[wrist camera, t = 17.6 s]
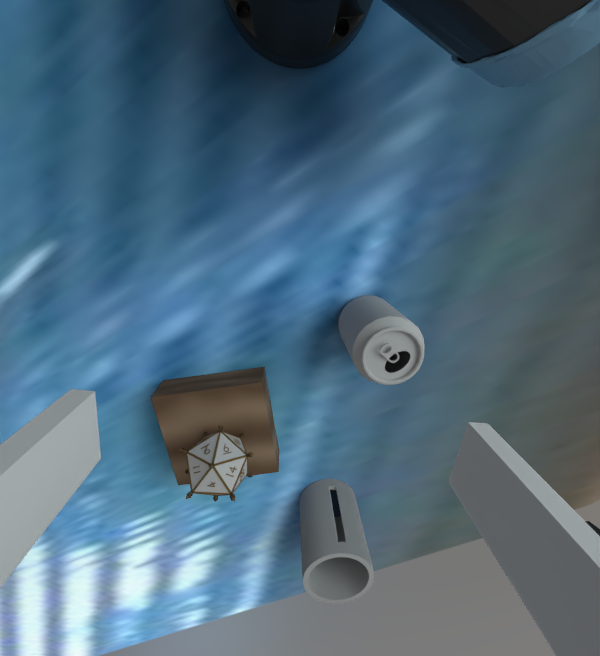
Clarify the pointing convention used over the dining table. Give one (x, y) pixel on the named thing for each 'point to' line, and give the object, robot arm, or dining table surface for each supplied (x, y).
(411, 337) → the can
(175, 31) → the dining table surface
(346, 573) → the cup
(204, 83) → the dining table surface
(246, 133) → the dining table surface
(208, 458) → the game die
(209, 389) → the walnut block
